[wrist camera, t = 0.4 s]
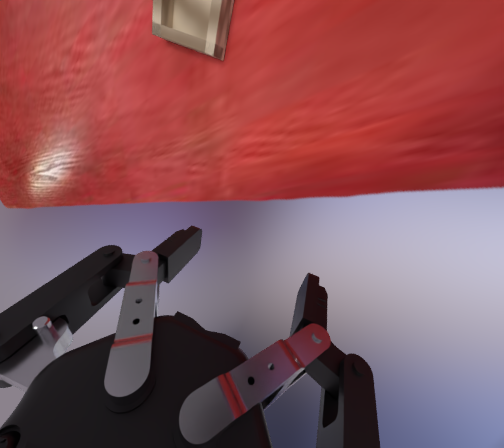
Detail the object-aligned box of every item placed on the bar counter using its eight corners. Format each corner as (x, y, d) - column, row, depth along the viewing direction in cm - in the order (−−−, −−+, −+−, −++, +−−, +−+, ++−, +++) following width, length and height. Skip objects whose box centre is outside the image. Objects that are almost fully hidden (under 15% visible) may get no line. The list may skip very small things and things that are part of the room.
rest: (171, -46, 30) (154, -64, 27) (238, -26, 29) (228, -42, 26) (167, 40, 36) (152, 34, 33) (223, 60, 34) (213, 55, 31)
